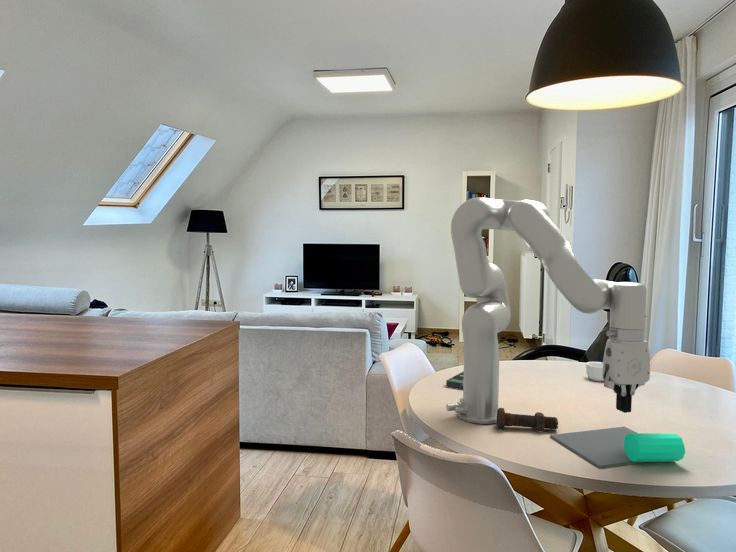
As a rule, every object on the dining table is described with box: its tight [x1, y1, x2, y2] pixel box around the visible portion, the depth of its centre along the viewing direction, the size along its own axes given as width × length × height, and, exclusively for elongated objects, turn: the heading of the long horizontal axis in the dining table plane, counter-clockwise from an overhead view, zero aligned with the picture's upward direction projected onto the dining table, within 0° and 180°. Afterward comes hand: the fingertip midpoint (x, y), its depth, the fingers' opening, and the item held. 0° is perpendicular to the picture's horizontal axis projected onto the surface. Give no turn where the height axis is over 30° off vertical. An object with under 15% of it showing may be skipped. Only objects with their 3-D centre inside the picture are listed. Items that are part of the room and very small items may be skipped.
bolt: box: [496, 407, 559, 433], centre depth 139 cm, size 6×5×15 cm
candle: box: [624, 432, 686, 463], centre depth 119 cm, size 6×6×12 cm
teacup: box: [585, 361, 605, 382], centre depth 184 cm, size 10×8×5 cm
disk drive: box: [445, 370, 464, 390], centre depth 179 cm, size 10×3×15 cm
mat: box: [549, 426, 643, 469], centre depth 128 cm, size 22×18×1 cm
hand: (623, 410), depth 128 cm, fingers closed
